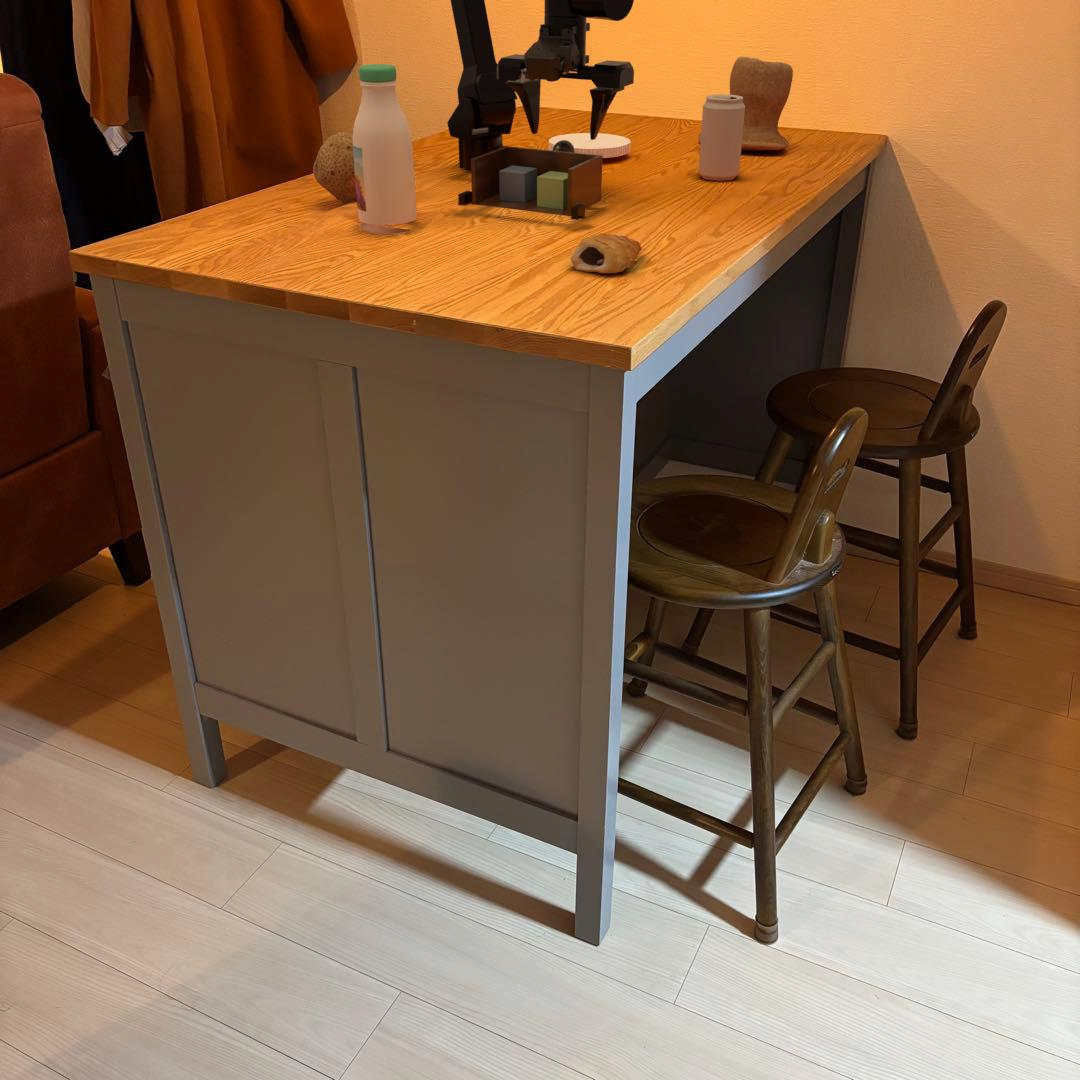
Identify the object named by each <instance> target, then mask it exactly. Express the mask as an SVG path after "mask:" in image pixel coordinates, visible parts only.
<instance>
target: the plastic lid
mask: <svg viewBox="0 0 1080 1080" xmlns="http://www.w3.org/2000/svg"><path fill="white" fill-rule="evenodd" d="M561 140H566V141H569V142H570V143H571V144H572V145H573V146H574V149H575V153H582V154H592V155H602V156H603V157H602V159H608V158H617V157H621V156H625V155H627V154H630V152H631V145H632V141H631V139H630V138H628V137H626V136H622V135H618V134H610V133H599V132H598V135H597V137H596V139H594V140H591V138H590V132H578V133H577V132H576V133H575V132H574V133H567V134H566V133H565V134H560V135H555V136H551V137H550V138H549V139H548V150H552V151H553V147H554V145H555V144H556V143H557V142H559V141H561Z"/></svg>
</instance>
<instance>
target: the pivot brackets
mask: <svg viewBox="0 0 1080 1080" xmlns="http://www.w3.org/2000/svg"><path fill="white" fill-rule="evenodd" d="M457 196H458V202H457V204H458V206H468V205H469V204H472V190H466V191H463V192H460V193H458V194H457ZM570 219H571V220H575V221H577V220H580V219H581V220H582V219H583V220H585V219H587V216H586V209H585V205H583V204H578V205H576V206H574V207H572V208H571V216H570Z"/></svg>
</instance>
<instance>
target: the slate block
mask: <svg viewBox="0 0 1080 1080" xmlns="http://www.w3.org/2000/svg"><path fill="white" fill-rule="evenodd" d="M499 191H500V200H504V201H513V202H521V203H525V202H528V201H530V200H532V199H534V198H536V197H537V168H532V167H522V166H513V165H512V166H510V167H507V168H505V169H503V170H500V171H499Z"/></svg>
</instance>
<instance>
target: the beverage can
mask: <svg viewBox="0 0 1080 1080" xmlns="http://www.w3.org/2000/svg"><path fill="white" fill-rule="evenodd" d="M742 100H743V97H742V96H737V95H730V94H722V93H721V94H710V95H707V96H706V97H705V102H704V103H703V105H702V115H701V131H700V132H701V143H700V144H699V159H698V174H699V175H700V176H701V177H702V179H704V180H707V181H716V182H717V181H719V182H724V181H732V180H734V179H735V178H736V177H738V175H740V169H741V158H742V157H741V156H742V151H741V147H742V135H743V124H744V113H745V105H744V103H743V101H742Z"/></svg>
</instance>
